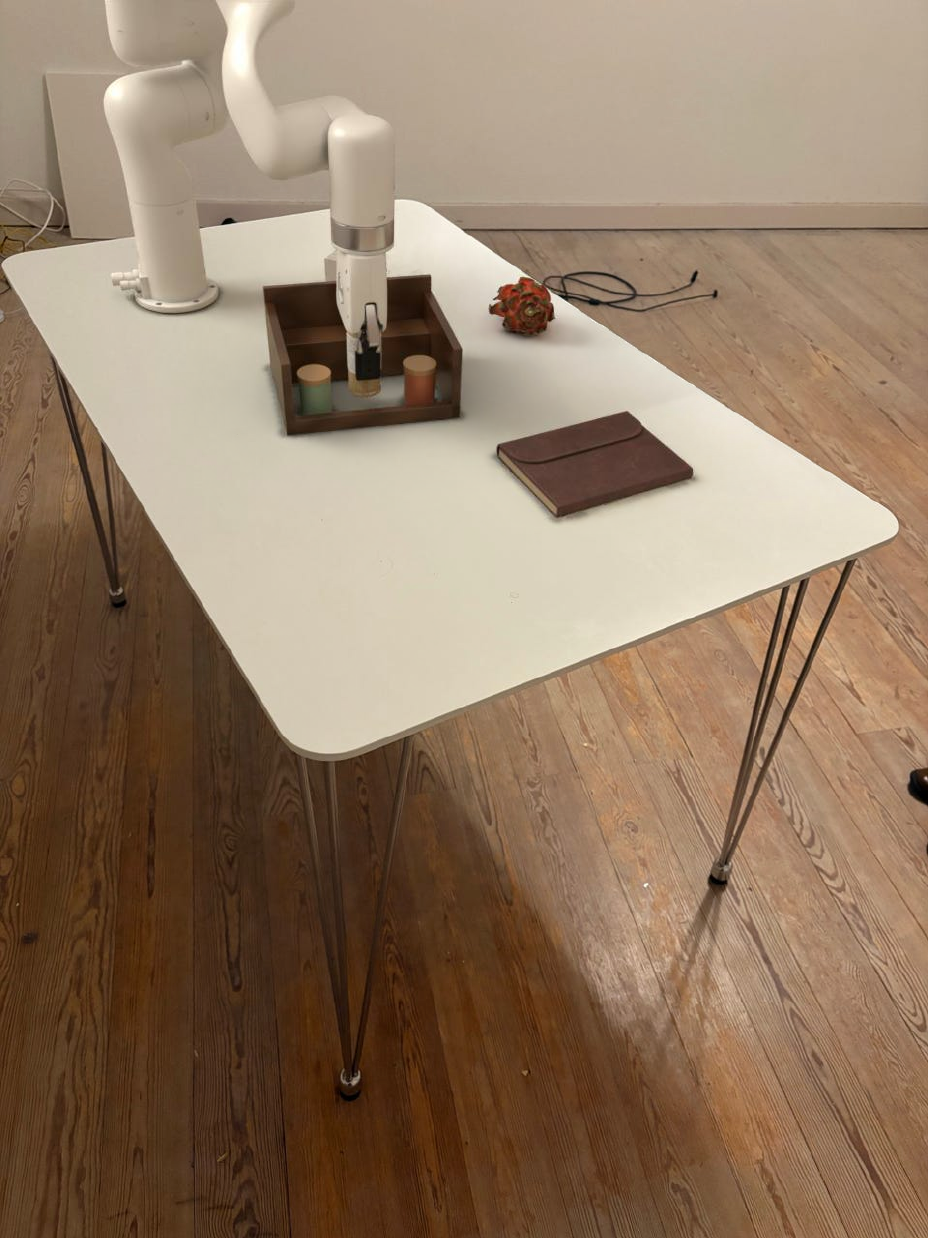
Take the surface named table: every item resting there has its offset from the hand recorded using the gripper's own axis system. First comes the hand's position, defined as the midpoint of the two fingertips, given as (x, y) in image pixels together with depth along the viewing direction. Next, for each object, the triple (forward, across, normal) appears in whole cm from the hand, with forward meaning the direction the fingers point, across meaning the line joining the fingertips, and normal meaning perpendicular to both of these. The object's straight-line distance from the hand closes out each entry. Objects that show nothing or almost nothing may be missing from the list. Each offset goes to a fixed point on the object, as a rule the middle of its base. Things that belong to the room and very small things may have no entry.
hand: (364, 367), depth 133 cm
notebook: (+5, +20, +25) cm, 33 cm away
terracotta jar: (+6, +1, +7) cm, 9 cm away
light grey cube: (+7, -35, +4) cm, 36 cm away
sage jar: (+6, +1, -7) cm, 9 cm away
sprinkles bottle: (+4, 0, 0) cm, 4 cm away
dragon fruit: (+6, -18, +27) cm, 33 cm away
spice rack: (+6, -4, 0) cm, 7 cm away
